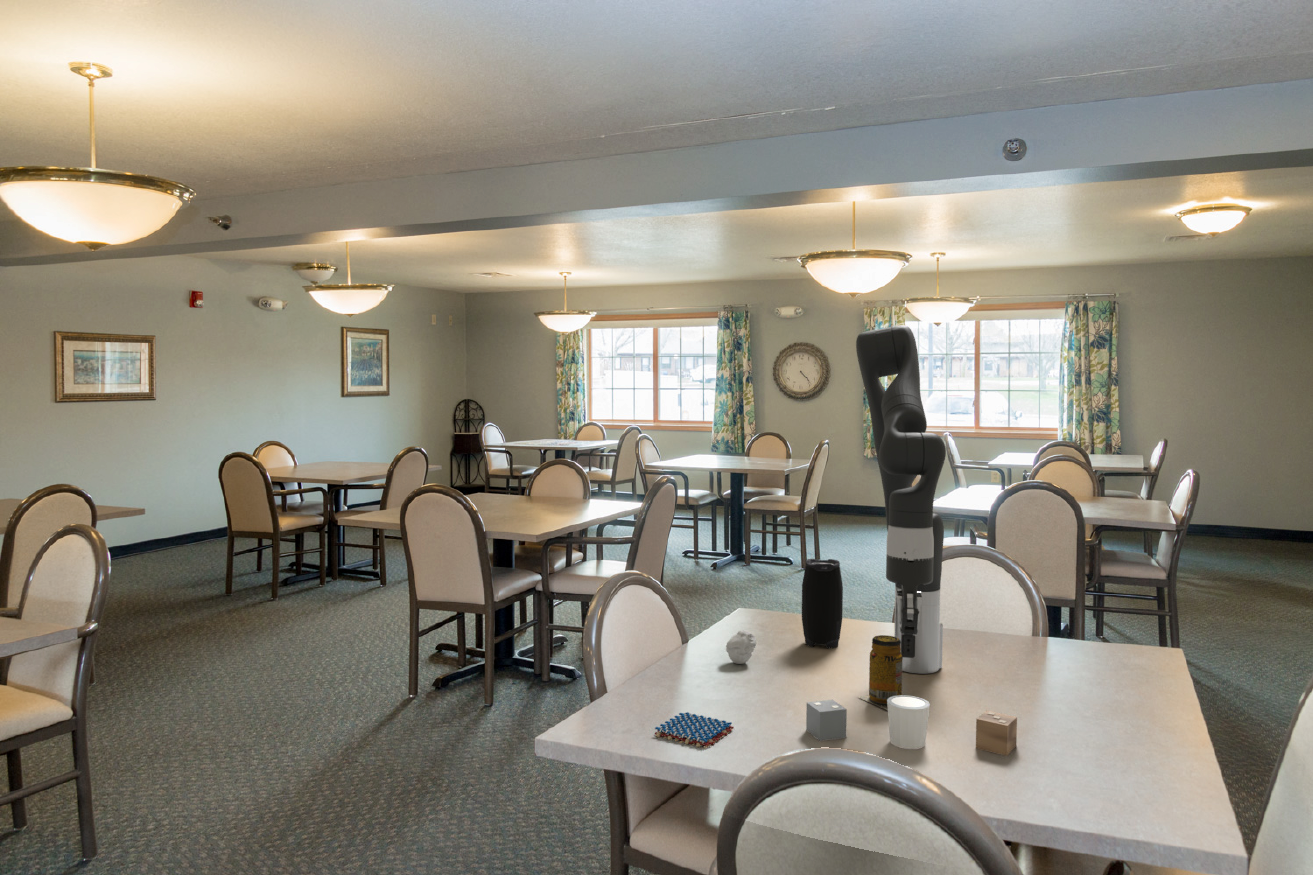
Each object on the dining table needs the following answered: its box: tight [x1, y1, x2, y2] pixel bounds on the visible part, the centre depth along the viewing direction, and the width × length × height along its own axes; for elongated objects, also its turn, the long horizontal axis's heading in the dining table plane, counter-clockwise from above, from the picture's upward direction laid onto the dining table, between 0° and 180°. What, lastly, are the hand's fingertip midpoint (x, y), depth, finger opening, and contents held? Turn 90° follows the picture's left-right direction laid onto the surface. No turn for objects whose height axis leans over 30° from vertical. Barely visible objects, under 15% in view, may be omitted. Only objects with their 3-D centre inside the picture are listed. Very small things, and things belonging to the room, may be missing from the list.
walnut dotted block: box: [975, 710, 1018, 757], centre depth 148 cm, size 5×5×5 cm
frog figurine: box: [725, 629, 757, 665], centre depth 194 cm, size 6×7×7 cm
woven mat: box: [654, 711, 734, 749], centre depth 154 cm, size 10×11×2 cm
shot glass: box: [887, 694, 931, 750], centre depth 150 cm, size 7×7×7 cm
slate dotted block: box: [805, 699, 848, 742], centre depth 154 cm, size 5×5×5 cm
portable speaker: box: [801, 558, 844, 649], centre depth 209 cm, size 9×9×20 cm
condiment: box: [858, 634, 903, 711], centre depth 170 cm, size 7×8×12 cm
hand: (907, 656), depth 150 cm, fingers closed
